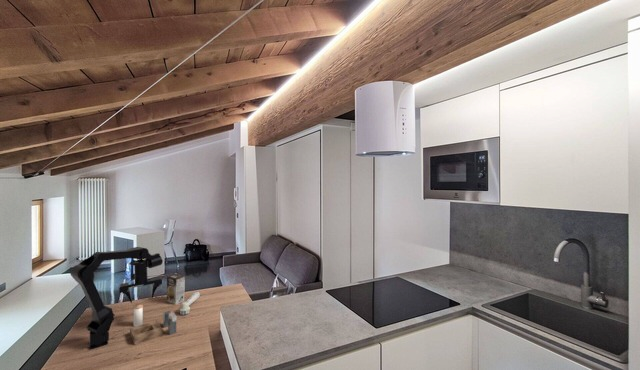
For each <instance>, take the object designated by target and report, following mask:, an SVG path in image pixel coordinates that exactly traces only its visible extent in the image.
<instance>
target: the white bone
mask: <svg viewBox="0 0 640 370" xmlns="http://www.w3.org/2000/svg"><path fill="white" fill-rule="evenodd" d="M200 296H201V292H200V291H196V292H193V293H192V294H191V295H190V297H189V298H188V299H187V300H185V301H183V302H181V306H180V308H179V314H180V316H183V315H187V314H189V313H190V310H191V307H190V306H191V304H192V303H194V302H195V301H196V300H198V299H199V298H200Z"/></svg>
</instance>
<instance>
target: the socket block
mask: <svg viewBox="0 0 640 370" xmlns="http://www.w3.org/2000/svg"><path fill="white" fill-rule="evenodd" d="M129 335H130V338H131V340H132V342H133V345H134V346H135V345H138V344H142V343H145V342H147V341H150V340H153V339H154V340H155V339H156V338H159V337H162V336H163V328H162V327H161V325H160V324H159V321H157V320H154V321H150V322H147V323H144V324H142V325H140V326H136V327H135V326H133V327H131V328H129ZM141 342H142V343H141Z"/></svg>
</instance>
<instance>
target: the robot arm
mask: <svg viewBox="0 0 640 370" xmlns="http://www.w3.org/2000/svg"><path fill="white" fill-rule="evenodd" d="M124 259H125V260H126V259H132V260H131V261H130V262H129V263H128V264H129V265H131V266H133V271H134V272H133V273H131V274H130V278H131V279H130V280H131V281H134V283H131V284H130V283H129V282H124V283H120V284H119V286H118V291H119V294H122V295H123V294H124V295H126V297H127V298H128V301H129V302H130V303H131V304H132V303H133V302H132V301H133V299H132V295H131V289H133V288H139V287H144V286H149V285H151V286H152V287H151V299H153V298H154V295H155V293H156V291H157V290H158V288H159V287H160V286H161V285H163V279H162V277H161V276H156V277H152V279H150V280H148V269H152V268H153V269H154V268H155V267H156V268H157V267H159V266H162V265H163V258H162V256H161V253H158V252H157V253H155V254H151V253H150V252H149V249H147V248H146V247H141V246H135V247H131V248H129V249H123V250H112V251H111V250H110V251H96V252H94V253H92V254H91V255H90V256H88V257H87V258H85V259H83V260H82V261H81V262H79V263H78V264H76V265H74V266H73V267H72V268H71V269H70V271H69V274H70V276H71V277H72V278H73V279H74V281H75V282H77V283H78V285H80V287H81V289H82V291H83V294H84V296H85V298H86V300H87V302H88V304H89V306H90V308H91V311H92V312H91V320H90V322H89V323H88V325H87V326H86V327H85V328H86V330H87V332H89V342H88V345H89V350H93V349H96V348H99V347H103V346H106V345H108V344H109V341H110V329H111V326H112V324H113V322H114V320H115V317H114V316H116V314H115V313H114V310H113V309H112V307H109V306H107V305H105V304H104V302H103V301H102V297H101V295H100V292H99V291H98V289H97V287H96V284H95V282H94V280H95V272H96V271H97V270H98V269H99V267H100V266H101V264H102V263H103V262H104V261H116V260H124Z"/></svg>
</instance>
